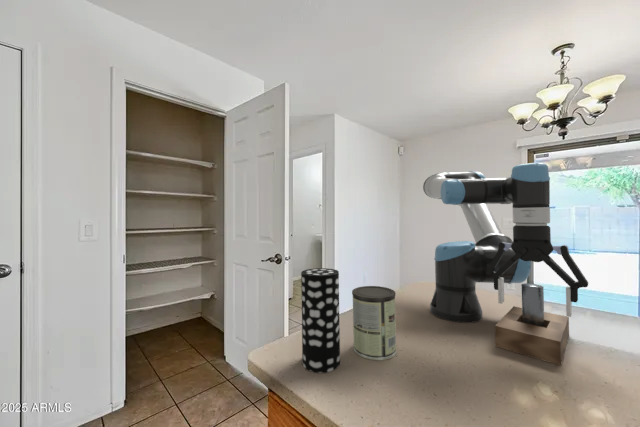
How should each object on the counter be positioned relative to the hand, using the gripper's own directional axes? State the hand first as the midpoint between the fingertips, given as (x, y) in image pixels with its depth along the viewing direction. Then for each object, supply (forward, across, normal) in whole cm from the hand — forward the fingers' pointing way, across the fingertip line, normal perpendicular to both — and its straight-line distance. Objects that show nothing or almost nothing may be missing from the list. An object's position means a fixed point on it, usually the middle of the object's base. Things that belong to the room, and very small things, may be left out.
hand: (532, 308), depth 69 cm
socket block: (+8, 0, 0) cm, 8 cm away
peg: (+8, 0, 0) cm, 8 cm away
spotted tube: (+8, -31, -45) cm, 55 cm away
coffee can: (+8, -26, -32) cm, 42 cm away
